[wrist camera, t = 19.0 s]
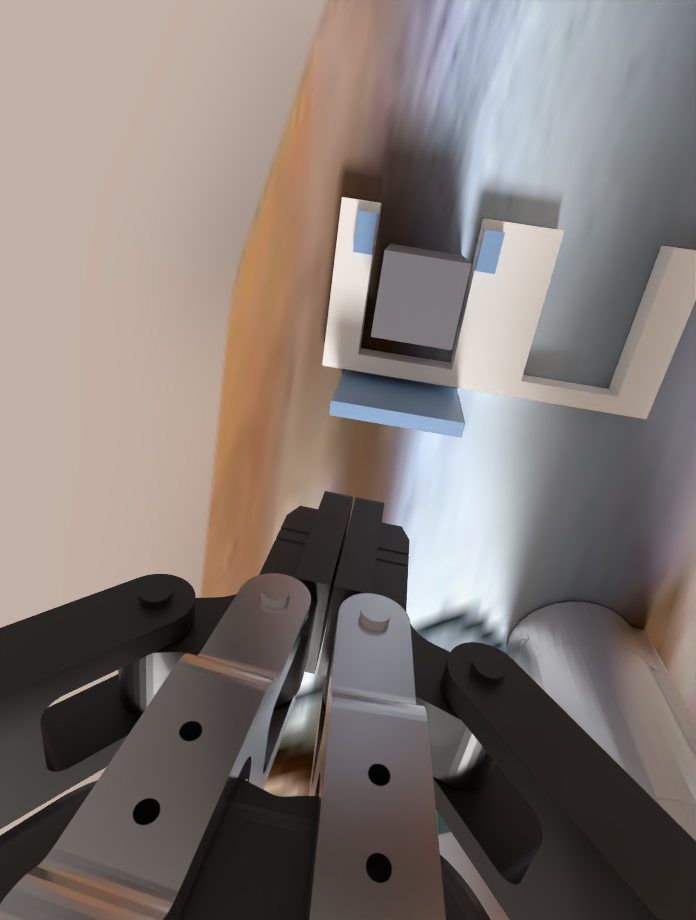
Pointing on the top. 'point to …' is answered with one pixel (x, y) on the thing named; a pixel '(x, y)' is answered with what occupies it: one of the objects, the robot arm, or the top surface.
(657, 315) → the white prong rack
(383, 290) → the plug
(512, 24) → the top surface
